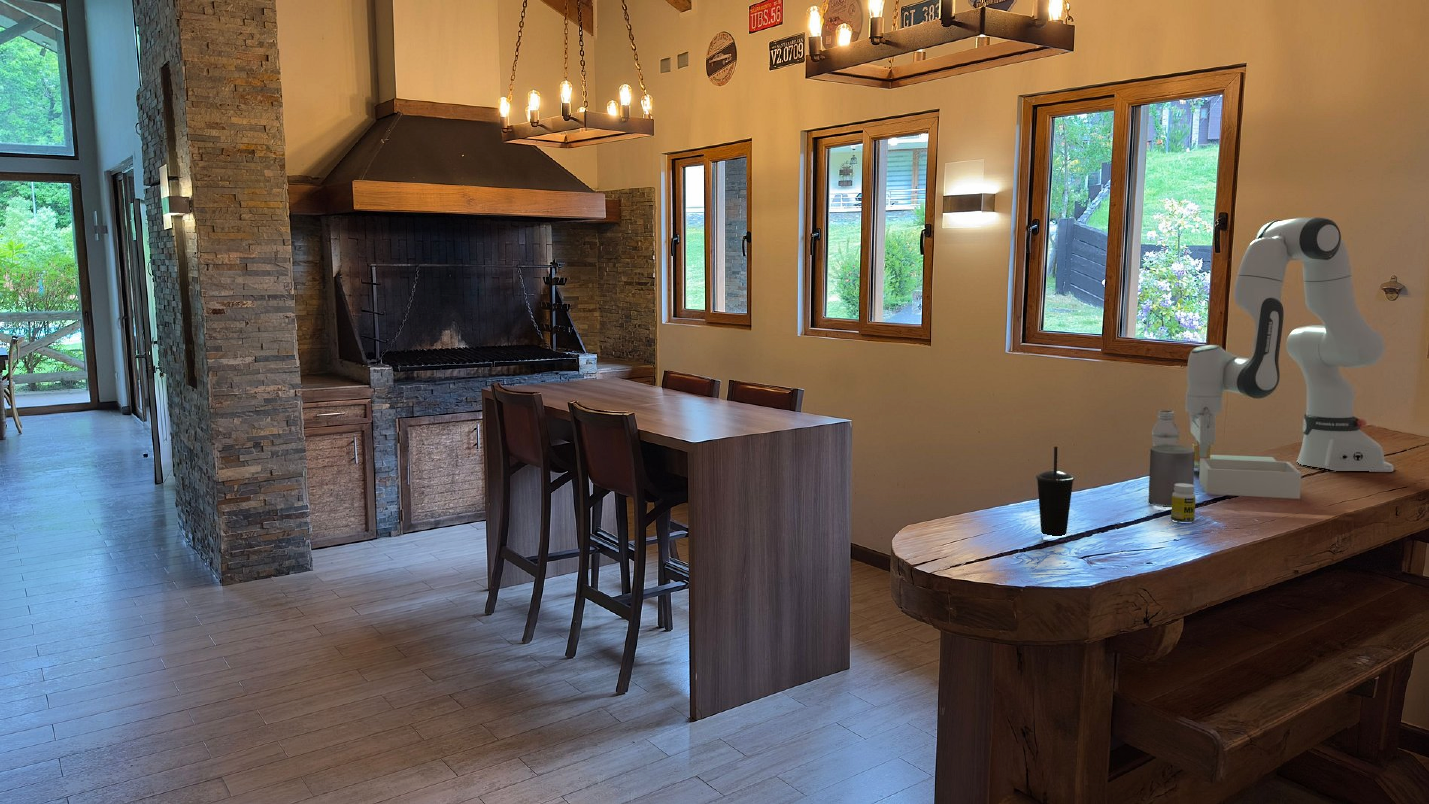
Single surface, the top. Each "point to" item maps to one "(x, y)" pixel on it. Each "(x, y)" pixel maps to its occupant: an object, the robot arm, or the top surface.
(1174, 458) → the pillar candle
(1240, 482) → the tub
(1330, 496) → the top surface
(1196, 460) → the lid
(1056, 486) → the drinking cup
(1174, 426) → the plastic bottle
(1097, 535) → the top surface
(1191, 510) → the supplement bottle
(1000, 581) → the top surface
